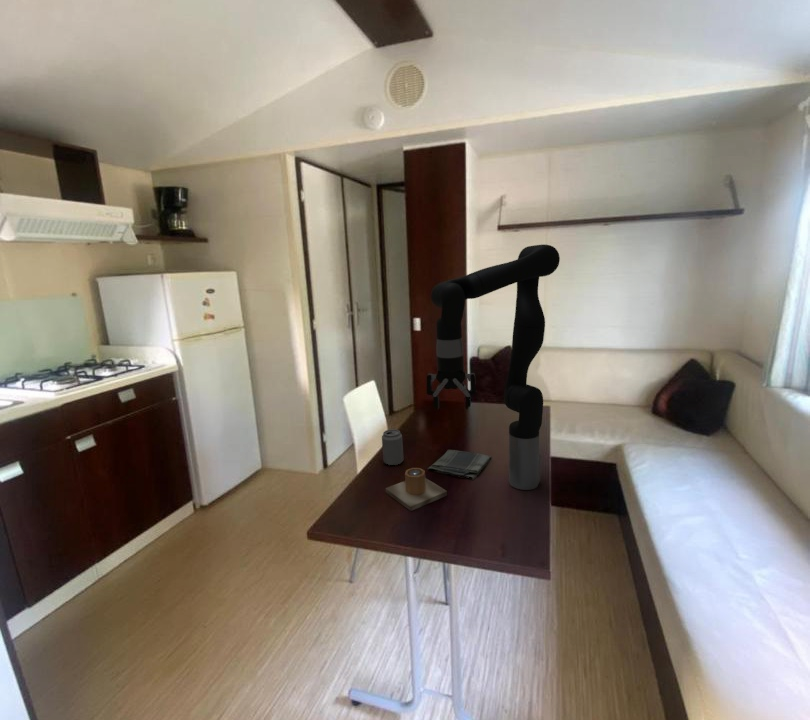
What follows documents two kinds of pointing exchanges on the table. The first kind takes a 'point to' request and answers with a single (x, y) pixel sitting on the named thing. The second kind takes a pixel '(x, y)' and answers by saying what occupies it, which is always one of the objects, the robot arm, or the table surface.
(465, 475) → the dish towel
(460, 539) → the table surface
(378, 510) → the table surface
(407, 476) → the collar
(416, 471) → the grey glossy cylinder
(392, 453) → the can
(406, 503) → the base
